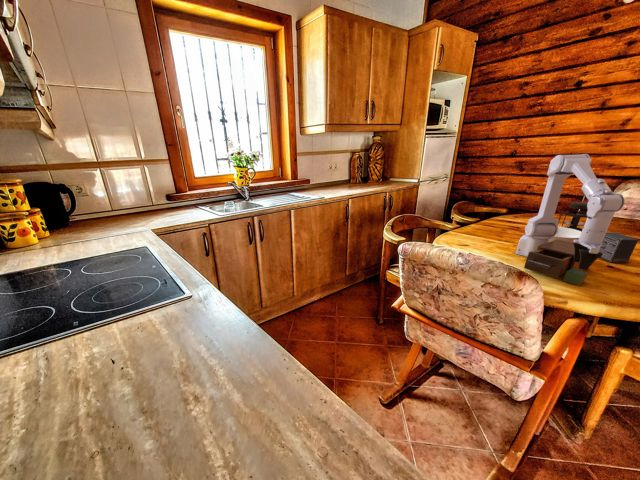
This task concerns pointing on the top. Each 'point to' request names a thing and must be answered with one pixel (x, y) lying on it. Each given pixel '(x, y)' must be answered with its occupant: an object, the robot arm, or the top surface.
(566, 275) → the block
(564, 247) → the cabinet
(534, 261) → the drawer
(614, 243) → the small box
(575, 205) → the french press
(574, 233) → the serving bowl
